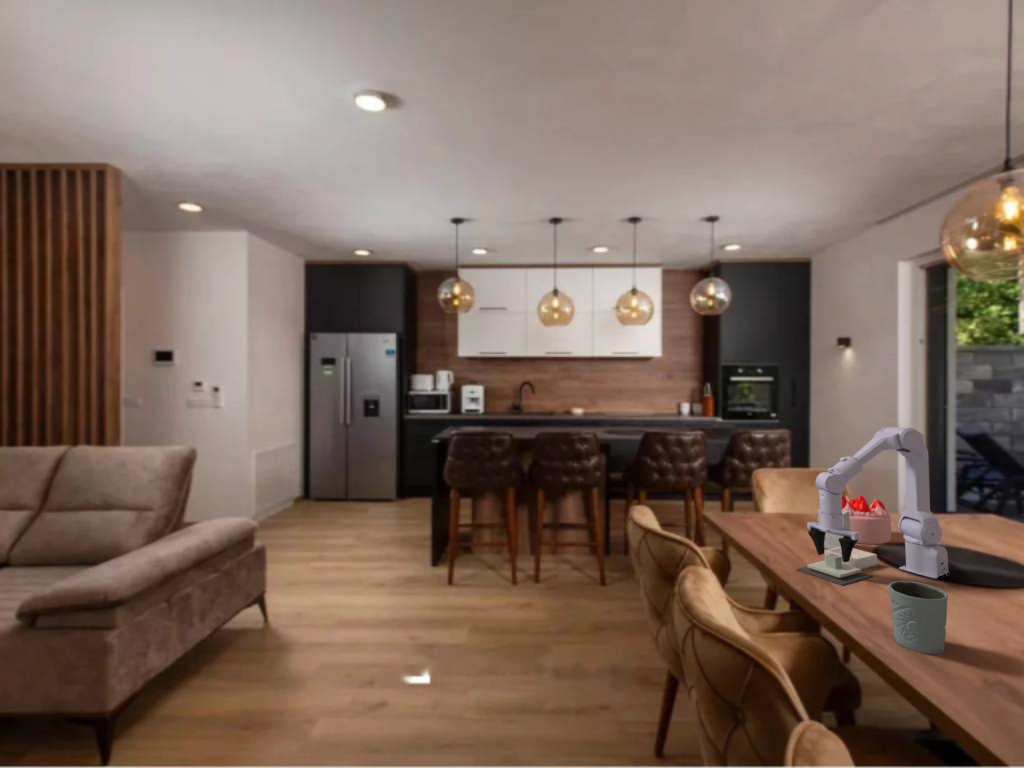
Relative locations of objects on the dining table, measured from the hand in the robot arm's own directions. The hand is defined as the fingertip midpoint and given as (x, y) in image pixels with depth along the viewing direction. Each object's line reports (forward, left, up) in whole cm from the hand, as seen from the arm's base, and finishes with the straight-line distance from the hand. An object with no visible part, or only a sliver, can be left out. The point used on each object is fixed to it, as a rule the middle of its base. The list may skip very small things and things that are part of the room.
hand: (833, 557), depth 151 cm
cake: (+19, -44, -5) cm, 48 cm away
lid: (0, 0, -4) cm, 4 cm away
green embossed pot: (-35, +25, -5) cm, 43 cm away
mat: (0, 0, -5) cm, 5 cm away
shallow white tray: (+3, -13, -5) cm, 14 cm away
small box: (+15, -24, -5) cm, 29 cm away
